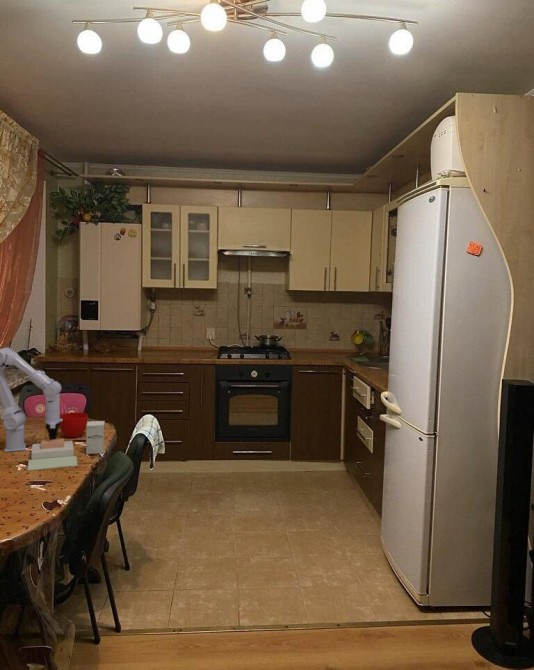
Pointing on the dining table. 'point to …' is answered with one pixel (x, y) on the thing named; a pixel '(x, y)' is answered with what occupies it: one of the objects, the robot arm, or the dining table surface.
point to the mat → (52, 463)
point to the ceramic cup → (73, 423)
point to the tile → (52, 443)
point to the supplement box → (95, 437)
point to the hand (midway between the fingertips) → (52, 440)
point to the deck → (52, 451)
